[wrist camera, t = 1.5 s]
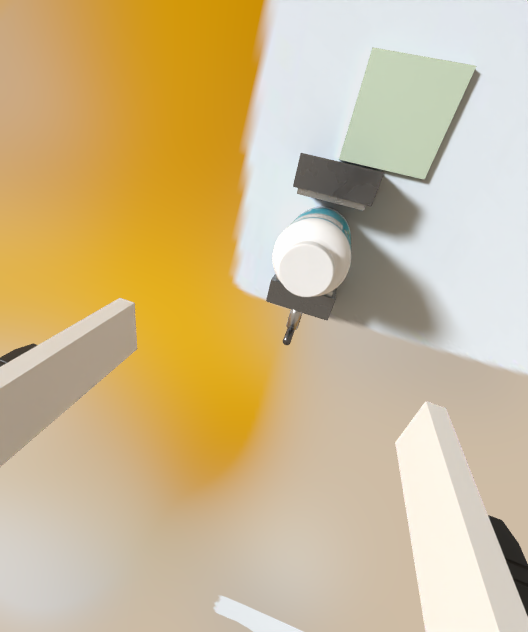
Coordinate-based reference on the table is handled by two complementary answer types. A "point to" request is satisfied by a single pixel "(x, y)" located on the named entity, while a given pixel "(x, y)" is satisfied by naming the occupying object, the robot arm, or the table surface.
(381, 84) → the pad
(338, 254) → the pill bottle
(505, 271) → the table surface
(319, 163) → the vise
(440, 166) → the table surface
